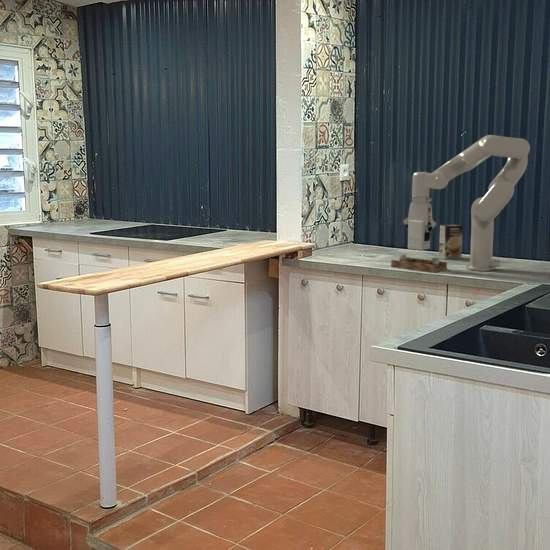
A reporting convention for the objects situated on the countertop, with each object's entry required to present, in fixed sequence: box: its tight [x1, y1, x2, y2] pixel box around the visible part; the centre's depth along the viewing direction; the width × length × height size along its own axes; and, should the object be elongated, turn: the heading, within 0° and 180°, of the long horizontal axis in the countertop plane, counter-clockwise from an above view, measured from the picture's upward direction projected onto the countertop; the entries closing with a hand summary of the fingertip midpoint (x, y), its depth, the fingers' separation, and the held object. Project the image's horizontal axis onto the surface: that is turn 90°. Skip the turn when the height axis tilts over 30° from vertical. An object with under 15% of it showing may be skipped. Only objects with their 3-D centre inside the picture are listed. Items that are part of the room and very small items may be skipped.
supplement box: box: [407, 220, 431, 251], centre depth 350 cm, size 7×7×13 cm
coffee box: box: [438, 224, 464, 260], centre depth 377 cm, size 9×6×16 cm
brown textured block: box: [390, 253, 448, 273], centre depth 352 cm, size 22×11×5 cm, turn 48°
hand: (419, 239), depth 350 cm, fingers closed on supplement box, 7 cm apart
